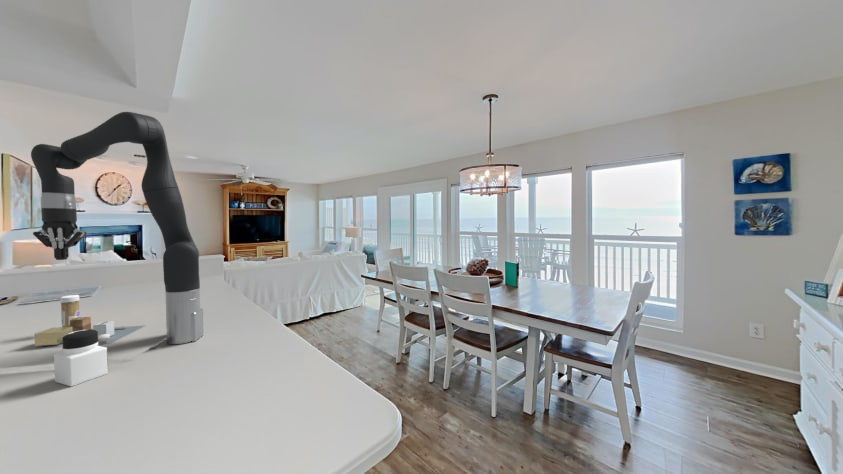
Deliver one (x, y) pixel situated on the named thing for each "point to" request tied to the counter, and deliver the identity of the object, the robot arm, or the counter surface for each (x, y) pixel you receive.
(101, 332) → the grey fader
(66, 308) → the sprinkles bottle
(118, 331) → the board
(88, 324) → the walnut fader
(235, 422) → the counter surface
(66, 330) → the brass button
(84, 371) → the medicine bottle
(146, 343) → the counter surface
